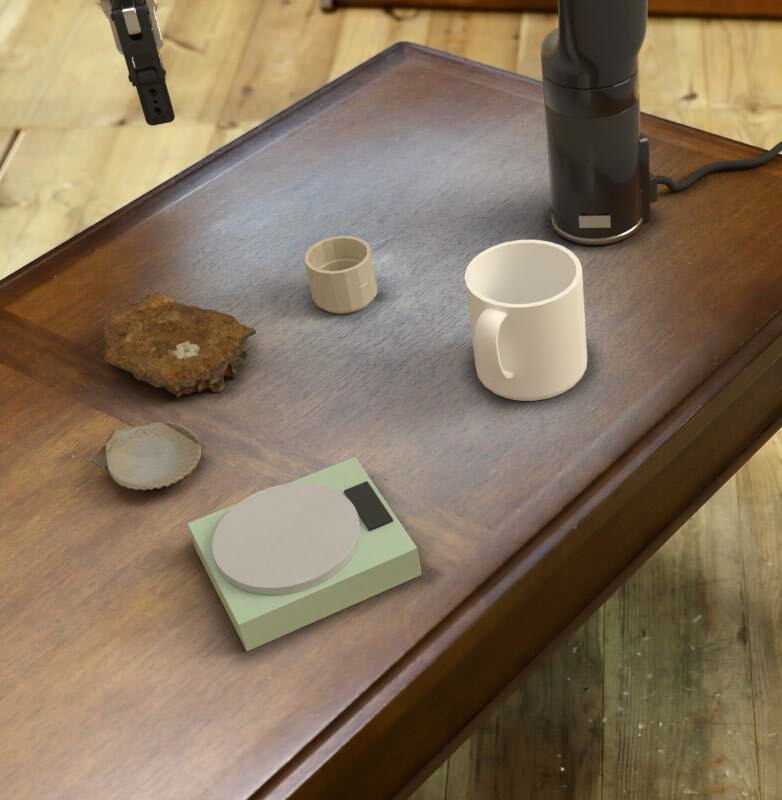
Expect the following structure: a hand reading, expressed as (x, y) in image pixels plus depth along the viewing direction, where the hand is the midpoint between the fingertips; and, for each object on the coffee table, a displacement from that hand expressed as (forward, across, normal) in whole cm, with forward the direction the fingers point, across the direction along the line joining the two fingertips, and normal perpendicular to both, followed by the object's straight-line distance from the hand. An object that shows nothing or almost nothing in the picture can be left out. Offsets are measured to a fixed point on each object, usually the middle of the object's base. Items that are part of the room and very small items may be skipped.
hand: (156, 97), depth 111 cm
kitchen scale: (+26, -30, -2) cm, 39 cm away
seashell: (+26, -14, +8) cm, 31 cm away
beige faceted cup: (+26, +4, -12) cm, 29 cm away
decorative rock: (+26, 0, +5) cm, 26 cm away
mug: (+26, -14, -25) cm, 39 cm away
